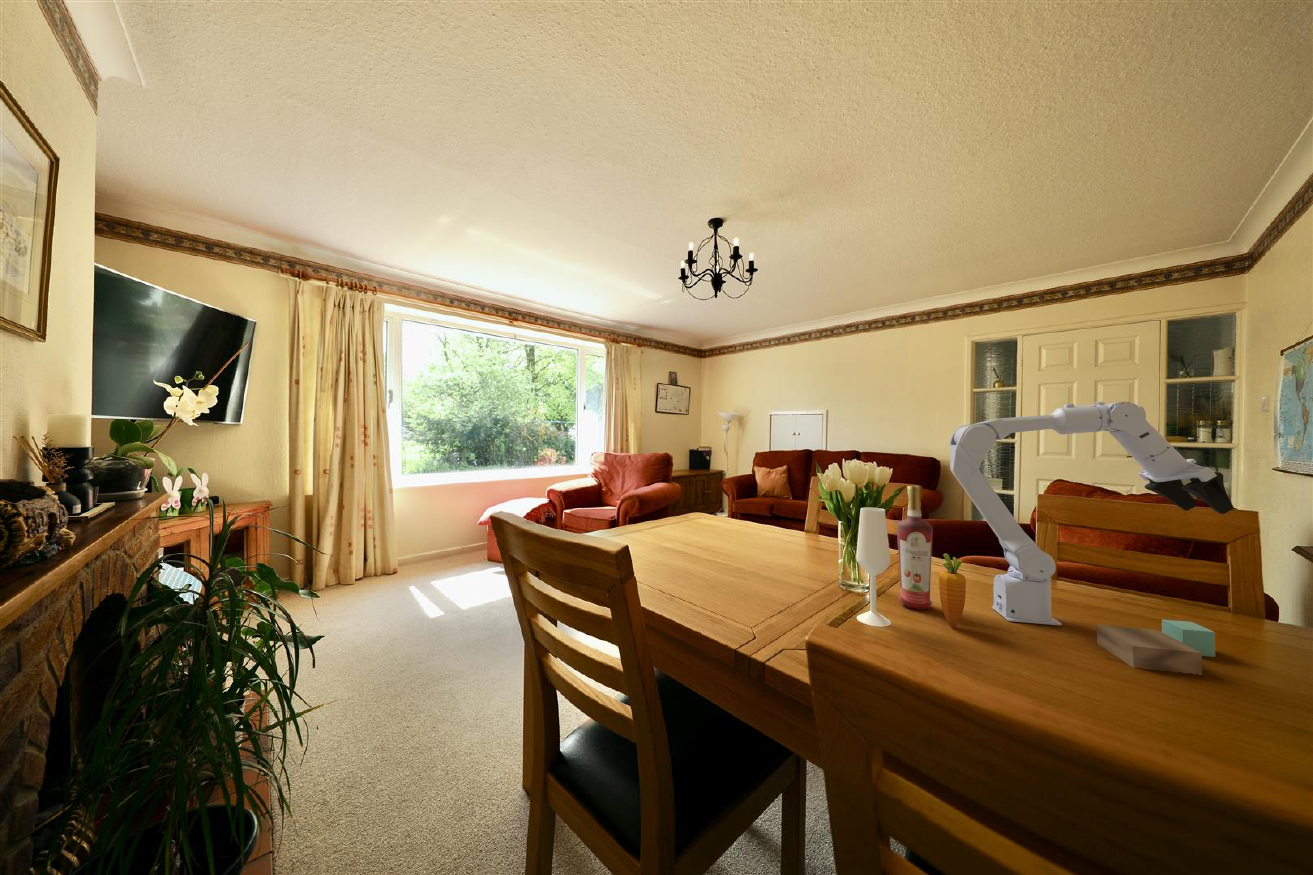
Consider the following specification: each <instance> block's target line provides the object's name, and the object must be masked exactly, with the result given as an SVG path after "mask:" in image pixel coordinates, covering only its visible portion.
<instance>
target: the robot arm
mask: <svg viewBox="0 0 1313 875" xmlns="http://www.w3.org/2000/svg"><path fill="white" fill-rule="evenodd" d="M1146 416H1147V413H1146V410H1145V408H1144V406H1139V405H1138V404H1136V403H1134V402H1130V401H1117V402H1110V403H1106V402H1104V401H1097V402H1094V404H1087V405H1086V404H1085V405H1076V406H1075V404H1074V403H1068V404H1063V407H1057V408H1055V410H1054V411H1053V412H1052V413H1050V414H1046V415H1033V416H1032V415H1031V416H1018V417H1017V416H1016V417H1002V418H995V419H990V420H985V421H981V422H976V423H974V424H963V425H961V426H959V427H957V428H956V430H954V433H953V434H952V436H951V438H950V440H949V443H948V444H949V449H950V452H949V453H950V456H949V458H950V459H949V466H950V467H949V470H950V472H951V474H952V475H953V476H954V478H955V479H956V481H957V482H958V483H959V485H960V486H961V487H962V490H964V492H965V494H967V497H969V499H970V500H971V502H972V503H973V505H974V506H975V507H976V509H977V511H978V512H979V513H980V514H981V516H982V518H984V520H985V521H986V523H987V524H988V525H989V527H990V528H991V530H992V531H993V533H994V534H995V536H996V537H997V538H998V541H999V544H1000V545H1001V547H1002V549H1003V554H1004V559H1005V560H1006V561H1005V562H1007V563H1008V564H1009V567H1008V569H1007V573H1005V574H996V575H994V578H993V588H992V589H993V590H992V591H993V605H992V606H991V608H992V609H993V610H994V611H996V612H997V613H998V614H999V615H1001V616H1002V617H1003V618H1004V619H1006V620H1007V621H1008V622H1018V623H1025V624H1027V623H1028V624H1039V625H1050V626H1060V627H1061V626H1062V624H1063V623H1062V622H1061V621H1059V620H1058V619H1056V618H1054V617H1052V585H1051V584H1052V576H1053V575H1054V574H1055V572H1056V568H1057V566H1056V561H1055V559H1054V558H1053V557H1052V556H1051V555H1050V554H1049V553H1047V552H1045V551H1043V550H1042V549H1041V548H1039V546H1038V545H1037V543H1036V542H1035V541H1034V540H1033V539H1032V538H1031V537H1030V535H1028V534H1027V533H1026V532H1025V530H1023V528H1022V527H1021V526H1020V524H1019V523H1018V522H1017V520H1016V518H1015V517H1014V515H1013V514H1012V513H1011V512H1010V510H1009V509H1008V507H1007V505H1005V504H1004V502H1003V500H1002V499H1001V498H1000V497H999V494H997V492H996V491H995V489H994V488H993V487H992V486H991V484H990V483H989V482H988V481H989V480H987V478H986V477H985V476H984V475H983V473H982V472H981V471H980V468H981V465H982V462H983V461H984V458H985V456H986V455H987V454H988V453H989V452H991V451H990V450H992V448H993V447H994V446H995V444H996V442H997V441H999V440H1000V441H1002V440H1003V439H1005V438H1006V437H1008V435H1009V436H1010V434H1013V433H1024V432H1034V431H1045V430H1053V431H1054V432H1056V433H1058V434H1059V435H1070V434H1072V435H1073V434H1084V433H1087V434H1088V433H1099V432H1102V431H1104V432H1108V433H1109V434H1110V435H1111V436H1112V437H1113V439H1115V440H1116V441H1117V443H1119V445H1121V447H1122V448H1123V449H1124V450H1125V451H1126V452H1127V453H1128V454H1129V455H1130V456H1131V457H1132V458H1133V459H1134V460H1135V461H1136V462H1137V463H1138V464H1139V466H1141V468H1143V470H1141V471H1139V472H1138V473H1137V474H1138V476H1140V478H1141V479H1142V480H1143V481H1148V483H1147V484H1146V485H1144V486H1143V487H1144V489H1146V490H1148V491H1151V492H1153V493H1155V494H1157V495H1160V496H1162V497H1163V498H1165V499H1166V500H1168V501H1169V502H1171V503H1172V504H1174V505H1175V506H1177V507H1179V508H1180V509H1181V510H1183V511H1185V512H1188V511H1190V510H1191V509H1194V508H1196V507H1197V506H1198V504H1197V501H1196V499H1195V498H1193V496H1195V497H1197V498H1198V499H1199V500H1201V501H1202V502H1204V503H1205V504H1206V505H1207V506H1209V507H1210V508H1211V509H1212V510H1213V511H1214V512H1216V513H1218V514H1220V515H1224V514H1225V515H1226V513H1229V512H1230V511H1233V510H1234V509H1235V506H1234V505H1233V503H1232V501H1231V499H1230V497H1229V496H1228V493H1227V491H1226V488H1225V484H1224V474H1223V473H1222V472H1219V471H1213V470H1212V469H1211V468H1210V467H1209V466H1201V465H1198V464H1196V463H1197V460H1195V459H1194V458H1187V459H1186V458H1185V457H1183V456H1182V454H1181V453H1179V451H1178V450H1177V449H1175V447H1173V446H1172V445H1171V443H1170V442H1169V441H1168V440H1167V439H1166V438H1165V437H1164V436H1163V435H1162V434H1161V433H1160V432H1159V431H1158V430H1157V429H1156V428H1155V427H1154V426H1153V425H1151V424H1150V422H1148V420H1147V417H1146ZM1182 480H1189V482H1188V483H1186V484H1184V483H1183V481H1182ZM1192 495H1193V496H1192Z"/></svg>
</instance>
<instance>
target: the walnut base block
mask: <svg viewBox="0 0 1313 875" xmlns="http://www.w3.org/2000/svg"><path fill="white" fill-rule="evenodd" d="M1096 644H1097V645H1098V646H1099V647H1101V648H1102V649H1104V650H1106V651H1107V652H1109V653H1110V654H1112V655H1113V656H1114V657H1116V658H1118V659H1120V660H1121V661H1123V662H1124V663H1126V664H1127V665H1129V666H1130V667H1132V668H1134V669H1143V670H1152V671H1161V672H1171V673H1178V672H1182V673H1181V674H1187V673H1189V674H1188V675H1190V673H1192V674H1191V675H1196V674H1198V675H1197V676H1203V656H1202V653H1201V652H1199V651H1197V650H1195V649H1193V648H1191V647H1190V646H1188V645H1186V644H1184V643H1182V642H1180V641H1178V640H1176V639H1174V638H1172V637H1170V636H1168V635H1166V634H1164V633H1162V631H1161V630H1158V629H1149V628H1139V627H1137V628H1136V627H1130V626H1129V627H1128V626H1127V627H1126V626H1117V625H1108V624H1107V625H1105V624H1096Z"/></svg>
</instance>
